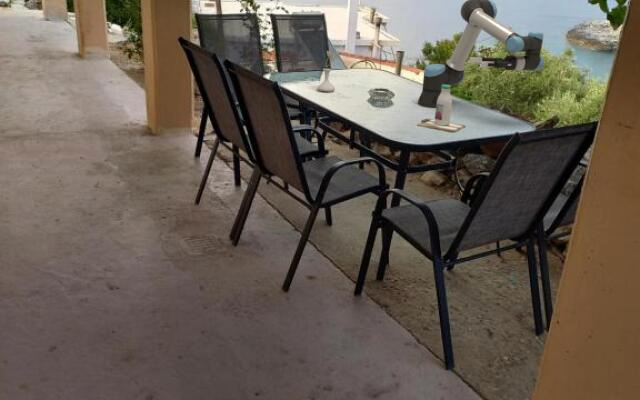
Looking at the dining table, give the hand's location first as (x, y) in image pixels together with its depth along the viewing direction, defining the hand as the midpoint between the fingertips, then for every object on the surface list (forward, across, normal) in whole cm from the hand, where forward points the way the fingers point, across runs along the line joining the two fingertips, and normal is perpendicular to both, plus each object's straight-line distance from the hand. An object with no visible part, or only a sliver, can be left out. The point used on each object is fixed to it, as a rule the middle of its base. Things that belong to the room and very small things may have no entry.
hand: (475, 62), depth 300 cm
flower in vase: (+60, +83, -32) cm, 107 cm away
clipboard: (+16, -6, -32) cm, 36 cm away
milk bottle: (+16, -6, -31) cm, 36 cm away
